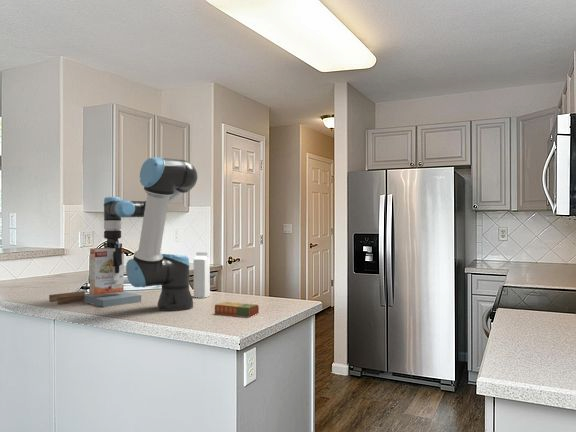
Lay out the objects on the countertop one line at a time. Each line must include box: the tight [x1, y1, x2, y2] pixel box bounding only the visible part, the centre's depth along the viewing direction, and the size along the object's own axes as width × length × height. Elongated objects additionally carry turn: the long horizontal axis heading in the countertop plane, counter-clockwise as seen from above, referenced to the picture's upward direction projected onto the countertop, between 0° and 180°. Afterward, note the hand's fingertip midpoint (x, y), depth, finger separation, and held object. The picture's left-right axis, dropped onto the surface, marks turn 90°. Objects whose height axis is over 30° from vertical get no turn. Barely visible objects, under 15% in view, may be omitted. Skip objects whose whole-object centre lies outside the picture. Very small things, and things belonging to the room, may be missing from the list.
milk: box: [193, 251, 211, 299], centre depth 230 cm, size 6×6×22 cm
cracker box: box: [89, 247, 125, 295], centre depth 216 cm, size 14×6×21 cm, turn 136°
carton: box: [214, 301, 260, 318], centre depth 189 cm, size 8×16×4 cm, turn 66°
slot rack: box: [48, 290, 90, 305], centre depth 221 cm, size 11×16×3 cm
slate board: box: [83, 290, 142, 308], centre depth 217 cm, size 20×18×3 cm
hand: (112, 279), depth 217 cm, fingers open, 6 cm apart
